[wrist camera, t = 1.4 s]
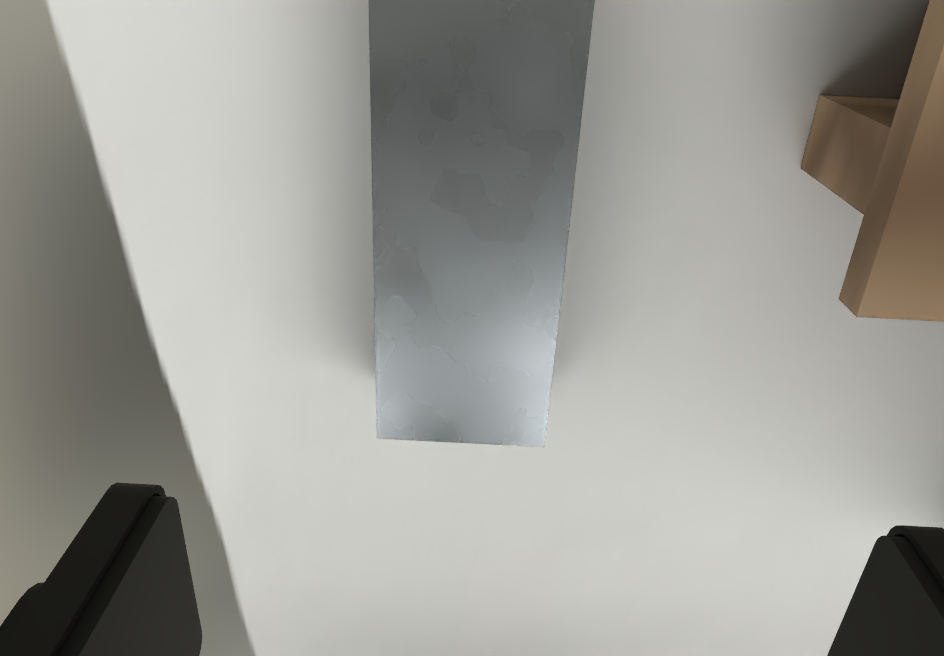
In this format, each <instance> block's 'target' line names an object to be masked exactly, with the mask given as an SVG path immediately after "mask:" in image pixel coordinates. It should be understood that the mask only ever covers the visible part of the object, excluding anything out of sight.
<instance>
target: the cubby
mask: <svg viewBox="0 0 944 656" xmlns="http://www.w3.org/2000/svg"><path fill="white" fill-rule="evenodd" d="M801 169H802V170H804V171H805V172H806V173H808V174H809V175H811V176H812V177H813V178H815V179H816V180H817V181H819V182H820V183H822V184H823V185H824V186H826V187H827V188H828V189H830V190H831V191H832V192H834V193H835V194H837V195H838V196H839V197H841V198H842V199H843V200H845V201H846V202H848V203H849V204H850V205H852V206H853V207H854V208H856V209H857V210H858V211H860V212H861V213H863V214H864V217H863V221H862V224H861V227H860V230H859V234H858V237H857V240H856V244H855V247H854V250H853V253H852V257H851V260H850V263H849V267H848V270H847V273H846V276H845V280H844V283H843V286H842V289H841V293H840V296H839V300H840V301H841V302H842V303H843V304H844V305H845V306H846V307H847V308H848V309H849V310H850V311H851V312H852V313H853V314H854V315H855V316H856V317H868V318H888V319H908V320H927V321H944V0H930V1H929V4H928V8H927V11H926V14H925V17H924V21H923V24H922V27H921V31H920V34H919V37H918V40H917V44H916V47H915V50H914V54H913V57H912V60H911V63H910V67H909V70H908V73H907V76H906V80H905V83H904V86H903V90H902V93H901V96H900V99H890V98H871V97H851V96H831V95H819V98H818V102H817V106H816V110H815V114H814V118H813V122H812V126H811V130H810V134H809V138H808V141H807V145H806V149H805V153H804V157H803V161H802V165H801Z"/></svg>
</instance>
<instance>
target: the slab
mask: <svg viewBox="0 0 944 656" xmlns="http://www.w3.org/2000/svg"><path fill="white" fill-rule="evenodd" d="M593 9H594V0H369V39H370V93H371V146H372V199H373V253H374V306H375V360H376V413H377V438H378V439H397V440H417V441H436V442H456V443H476V444H495V445H515V446H534V447H545V438H546V429H547V420H548V411H549V402H550V393H551V384H552V376H553V367H554V358H555V349H556V340H557V331H558V322H559V313H560V304H561V295H562V286H563V277H564V268H565V259H566V250H567V241H568V232H569V223H570V215H571V206H572V197H573V188H574V179H575V170H576V161H577V152H578V143H579V134H580V125H581V116H582V107H583V98H584V89H585V80H586V71H587V63H588V54H589V45H590V36H591V27H592V18H593Z"/></svg>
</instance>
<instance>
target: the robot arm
mask: <svg viewBox="0 0 944 656" xmlns="http://www.w3.org/2000/svg"><path fill="white" fill-rule="evenodd" d="M201 643H202V631H201V625H200V619H199V614H198V609H197V603H196V598H195V593H194V588H193V582H192V577H191V572H190V567H189V561H188V556H187V550H186V545H185V540H184V534H183V529H182V524H181V518H180V514H179V508H178V503H177V500H176V499H175V498H174V497H166V495H165V492H164V489H163V488H162V487H161V486H159V485H148V484H147V485H146V484H129V483H115V484H113V485H111V487H110V488H109V489H108V490H107V491H106V493H105V494H104V496H103V497H102V499H101V500H100V501H99V503H98V505H97V506H96V507H95V509H94V510H93V512H92V513H91V515H90V516H89V518H88V519H87V521H86V522H85V524H84V525H83V527H82V528H81V530H80V531H79V532H78V534H77V535H76V537H75V538H74V540H73V541H72V543H71V544H70V546H69V547H68V549H67V550H66V551H65V553H64V554H63V556H62V557H61V559H60V560H59V562H58V563H57V565H56V566H55V568H54V569H53V571H52V572H51V573H50V575H49V576H48V578H47V579H46V581H45V582H44V583H37V584H36V585H34V586H32V587H31V588H29V589H28V590H27V591H26V592H25V593H24V595H23V596H22V597H21V598H20V599H19V600H18V602H17V603H16V605H15V606H14V608H13V609H12V610H11V612H10V614H9V615H8V616H7V618H6V619H5V620H4V622H3V624H2V625H1V626H0V656H199V654H200V650H201ZM827 656H944V529H943V528H937V527H918V526H895V527H893V528H892V529H891V530H890V531H889V533H888V534H887V536H881V537H879V538H878V539H877V541H876V543H875V545H874V547H873V549H872V552H871V554H870V557H869V559H868V561H867V564H866V566H865V568H864V571H863V573H862V575H861V578H860V580H859V582H858V585H857V587H856V589H855V592H854V594H853V596H852V599H851V601H850V603H849V606H848V608H847V611H846V613H845V615H844V618H843V620H842V622H841V625H840V627H839V629H838V632H837V634H836V636H835V639H834V641H833V643H832V646H831V648H830V650H829V653H828V655H827Z"/></svg>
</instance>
